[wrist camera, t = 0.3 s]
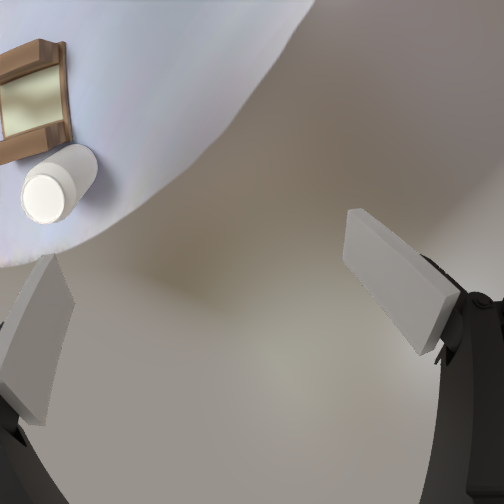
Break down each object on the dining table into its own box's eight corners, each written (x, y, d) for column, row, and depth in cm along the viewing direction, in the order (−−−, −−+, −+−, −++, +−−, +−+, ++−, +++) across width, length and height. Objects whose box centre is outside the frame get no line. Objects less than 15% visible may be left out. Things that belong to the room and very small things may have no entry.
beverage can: (48, 174, 32) (7, 210, 22) (70, 133, 30) (30, 155, 20) (84, 198, 35) (55, 242, 25) (108, 158, 33) (81, 189, 23)
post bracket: (0, 66, 22) (-28, 67, 16) (65, 42, 24) (43, 34, 18) (10, 157, 29) (-16, 173, 23) (72, 140, 31) (52, 151, 25)
